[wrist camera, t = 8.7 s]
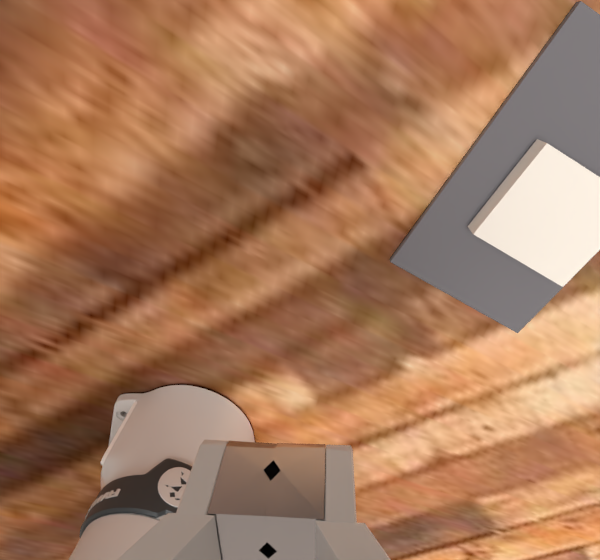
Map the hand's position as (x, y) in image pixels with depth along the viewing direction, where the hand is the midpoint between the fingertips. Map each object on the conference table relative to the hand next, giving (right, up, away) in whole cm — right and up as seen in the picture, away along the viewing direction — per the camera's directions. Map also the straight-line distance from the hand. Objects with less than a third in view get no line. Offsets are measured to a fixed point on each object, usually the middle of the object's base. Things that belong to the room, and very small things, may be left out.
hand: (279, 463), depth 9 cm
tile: (+16, +11, +24) cm, 31 cm away
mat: (+20, +11, +26) cm, 34 cm away
